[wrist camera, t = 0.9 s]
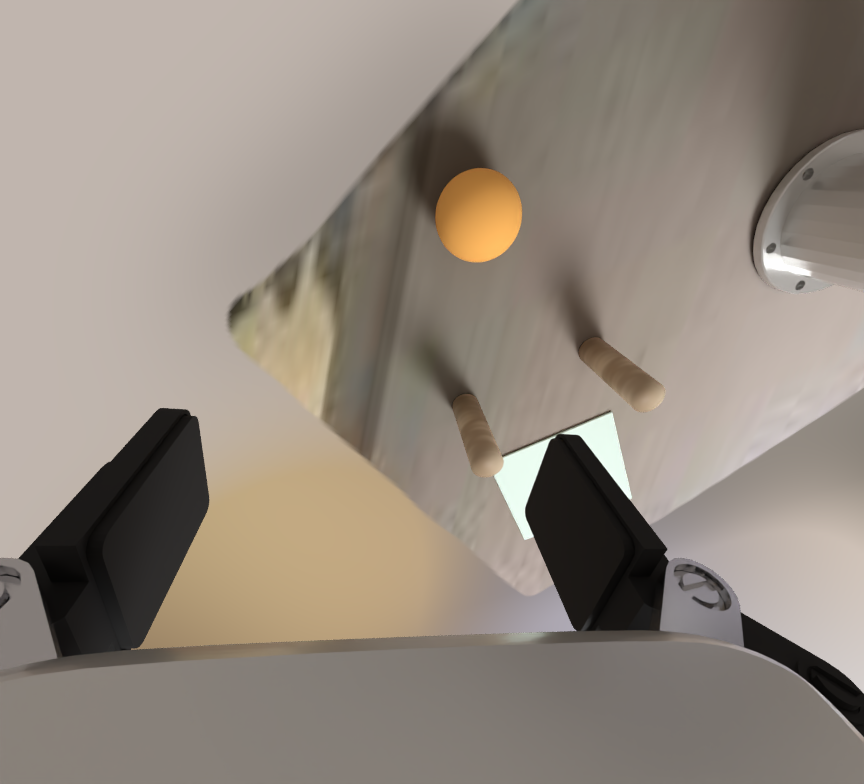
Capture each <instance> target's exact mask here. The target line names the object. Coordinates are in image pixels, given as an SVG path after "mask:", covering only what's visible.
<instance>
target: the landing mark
mask: <svg viewBox="0 0 864 784" xmlns="http://www.w3.org/2000/svg"><path fill="white" fill-rule="evenodd" d="M558 434H572V435H579V436H580V437H582V439H583V440H584V441H585V443H586V444H587V445H588V447H589V448H590V449H591V450H592V452H593V453H594V454H595V456H596V457H597V458H598V459H599V461H600V462H601V463H602V465H603V466H604V467H605V469H606V470H607V471H608V472H609V474H610V475H611V476H612V478H613V479H614V480H615V482H616V483H617V484H618V485H619V487H620V488H621V489H622V491H623V492H624V493H625V494H626V496H627V497H628V498H629V499H631V498H632V496H631V492H630V488H629V483H628V479H627V475H626V470H625V466H624V462H623V457H622V453H621V449H620V444H619V440H618V436H617V431H616V427H615V423H614V418H613V414H612V412H609V413H606V414H604V415H601V416H599V417H597V418H594V419H592V420H589V421H587V422H585V423H582V424H580V425H577V426H575V427H573V428H570V429H568V430H565V431H563V432H561V433H558ZM558 434H556V435H553V436H551V437H549V438H546V439H544V440H541V441H539V442H537V443H534V444H532V445H529V446H527V447H525V448H522V449H520V450H517V451H515V452H513V453H510V454H508V455H505V456H503V460H504V464H503V467H502V469H501V470H500V471H499V472H498V473H497V474H495V475H494V477H495V479H496V481H497V483H498V485H499V487H500V489H501V492H502V494H503V496H504V498H505V500H506V502H507V504H508V506H509V508H510V510H511V512H512V515H513V517H514V519H515V521H516V523H517V525H518V527H519V529H520V531H521V533H522V535H523V537H524V540H527V539H529V538H532V537H534V536H533V534H532V531H531V529H530V527H529V524H528V522H527V520H526V517H525V507H526V504H527V501H528V498H529V495H530V493H531V490H532V487H533V485H534V482H535V479H536V476H537V474H538V471H539V468H540V466H541V463H542V460H543V457H544V455H545V452H546V449H547V447H548V444H549V442H550V440H551V439H553V438H555V437H556V436H557V435H558Z"/></svg>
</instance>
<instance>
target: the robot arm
mask: <svg viewBox="0 0 864 784" xmlns="http://www.w3.org/2000/svg"><path fill="white" fill-rule="evenodd" d="M753 256H754V263H755V267H756V269H757V272H758V274H759V276H760V277H761V278H762V279H763V281H764V282H765V283H766V284H768V285H769V286H771V287H773V288H774V289H778V290H781V291H784V292H787V293H792V294H806V293H812V292H816V291H820V290H823V289H825V288H828V287H830V286H832V285H837V286H841V287H845V288H849V289H853V290H857V291H861V292H864V129H861V130H855V131H851V132H847V133H843V134H841V135H838V136H836V137H834V138H832V139H830V140H828V141H826V142H824V143H823V144H821V145H820V146H818V147H817V148H815V149H814V150H812V151H811V152H809V153H808V154H807V155H806V156H805V157H804V158H803V159H801V160H800V161H799V162H798V163H797V164H796V165H795V166H794V167H793V168H792V169H791V170H790V171H789V172H788V174H787V175H786V176H785V177H784V178H783V179H782V181H781V182H780V183H779V185H778V186H777V188H776V189H775V190H774V192H773V193H772V195H771V197H770V198H769V200H768V202H767V204H766V206H765V208H764V209H763V212H762V214H761V217H760V220H759V222H758V225H757V228H756V233H755V237H754V246H753ZM208 506H209V493H208V486H207V479H206V471H205V465H204V457H203V451H202V443H201V436H200V429H199V422H198V419H197V417H196V416H191V415H190V412H189V411H188V410H183V409H168V408H160V409H158V410H157V411H156V412H155V413H154V414H153V415H152V417H151V418H150V419H149V420H148V421H147V422H146V423H145V424H144V425H143V426H142V428H141V429H140V430H139V431H138V432H137V433H136V434H135V436H133V438H132V439H131V440H130V441H129V442H128V443H127V444H126V445H125V447H123V449H122V450H121V451H120V452H119V453H118V454H117V455H116V456H115V457H114V459H113V460H112V461H111V462H108V463H107V464H105V465H104V466H103V467H102V468H101V469H100V470H99V471H98V472H97V473H96V474H95V475H94V477H93V478H92V479H91V480H90V481H89V482H88V483H87V484H86V485H85V486H84V488H83V489H82V490H81V491H80V492H79V493H78V494H77V495H76V496H75V497H74V498H73V500H72V501H71V502H70V503H69V504H68V505H67V506H66V507H65V508H64V510H62V511H61V513H60V514H59V515H58V516H57V517H56V518H55V519H54V520H53V521H52V522H51V524H50V525H49V526H48V527H47V528H46V529H45V530H44V531H43V532H42V533H41V535H39V537H38V538H37V539H36V540H35V541H34V542H33V543H32V544H31V545H30V547H29V548H28V549H27V550H26V551H25V552H24V553H23V554H22V555H21V556H20V557H19V558H18V559H13V558H0V784H864V694H863V693H862V691H861V690H860V689H859V688H858V687H857V686H856V685H855V684H854V683H853V682H852V681H851V680H850V679H849V678H848V677H846V676H845V675H844V674H843V673H841V672H840V671H839V670H838V669H836V668H835V667H833V666H831V665H830V664H829V663H827V662H826V661H824V660H822V659H820V658H819V657H817V656H815V655H813V654H812V653H810V652H808V651H807V650H805V649H803V648H801V647H800V646H798V645H796V644H795V643H793V642H791V641H789V640H787V639H786V638H784V637H782V636H781V635H779V634H777V633H775V632H774V631H772V630H770V629H769V628H767V627H765V626H763V625H762V624H760V623H758V622H756V621H755V620H753V619H751V618H750V617H748V616H746V615H744V614H743V613H741V612H740V604H739V601H738V598H737V596H736V594H735V593H734V591H733V590H732V588H731V587H730V586H729V585H728V584H727V583H726V582H725V581H724V579H723V578H721V577H720V576H719V575H718V574H716V573H715V572H714V571H713V570H711V569H709V568H708V567H706V566H704V565H703V564H700V563H698V562H695V561H693V560H690V559H684V558H675V559H673V560H671V561H668V560H667V558H666V557H665V555H664V553H665V552H666V551H667V548H666V546H665V545H664V544H663V542H662V541H661V540H660V539H659V537H658V536H657V535H656V533H655V532H654V531H653V529H652V528H651V527H650V526H649V524H648V523H647V522H646V520H645V519H644V518H643V517H642V515H641V514H640V513H639V511H638V510H637V509H636V507H635V506H634V505H633V504H632V502H631V501H630V500H629V498H628V497H627V496H626V494H625V493H624V492H623V491H622V489H621V488H620V487H619V485H618V484H617V483H616V482H615V480H614V479H613V478H612V476H611V475H610V474H609V472H608V471H607V470H606V469H605V467H604V466H603V465H602V463H601V462H600V461H599V459H598V458H597V457H596V456H595V454H594V453H593V452H592V450H591V449H590V448H589V447H588V445H587V444H586V443H585V441H584V440H583V439H582V437H580V436H579V435H572V434H558V435H557V436H556V437H555V438H553V439H551V440H550V442H549V444H548V447H547V449H546V452H545V455H544V457H543V460H542V463H541V466H540V468H539V471H538V474H537V476H536V479H535V482H534V485H533V487H532V490H531V493H530V495H529V498H528V501H527V504H526V507H525V517H526V520H527V522H528V524H529V527H530V529H531V531H532V534H533V536H534V538H535V541H536V543H537V545H538V548H539V550H540V552H541V554H542V557H543V559H544V561H545V564H546V566H547V568H548V571H549V573H550V575H551V578H552V580H553V582H554V585H555V587H556V589H557V591H558V594H559V596H560V598H561V601H562V603H563V605H564V607H565V610H566V612H567V614H568V617H569V619H570V621H571V624H572V626H573V628H574V629H575V630H576V631H568V632H537V633H505V634H475V635H448V636H422V637H396V638H395V637H394V638H369V639H346V640H345V639H344V640H320V641H298V642H274V643H252V644H251V643H250V644H229V645H228V644H227V645H208V646H190V647H173V648H157V649H142V650H141V649H140V650H131V648H138V647H140V645H141V644H142V643H143V641H144V639H145V637H146V635H147V633H148V631H149V629H150V627H151V625H152V623H153V621H154V619H155V617H156V615H157V613H158V611H159V609H160V606H161V605H162V603H163V600H164V598H165V596H166V594H167V592H168V590H169V588H170V586H171V584H172V582H173V580H174V578H175V576H176V574H177V572H178V570H179V568H180V566H181V564H182V562H183V560H184V558H185V556H186V554H187V551H188V549H189V547H190V545H191V543H192V541H193V539H194V537H195V535H196V533H197V531H198V529H199V527H200V525H201V523H202V521H203V519H204V517H205V514H206V513H207V510H208Z"/></svg>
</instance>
